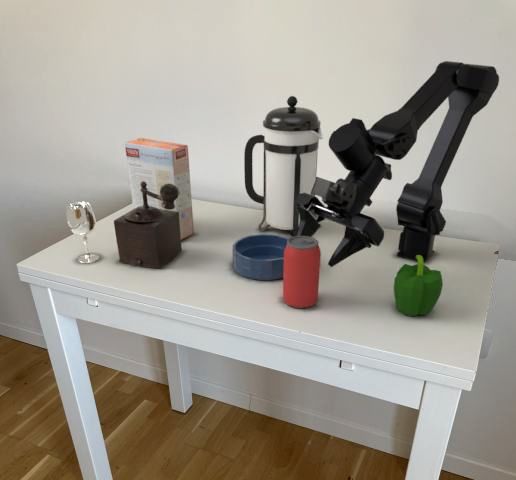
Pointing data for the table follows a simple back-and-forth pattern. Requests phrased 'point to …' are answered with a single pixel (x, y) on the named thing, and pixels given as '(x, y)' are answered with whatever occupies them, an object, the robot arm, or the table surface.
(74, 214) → the wineglass
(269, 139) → the coffee press
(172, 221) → the manual coffee grinder
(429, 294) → the bell pepper
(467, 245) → the table surface
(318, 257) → the beer can
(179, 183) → the cracker box
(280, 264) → the bowl
